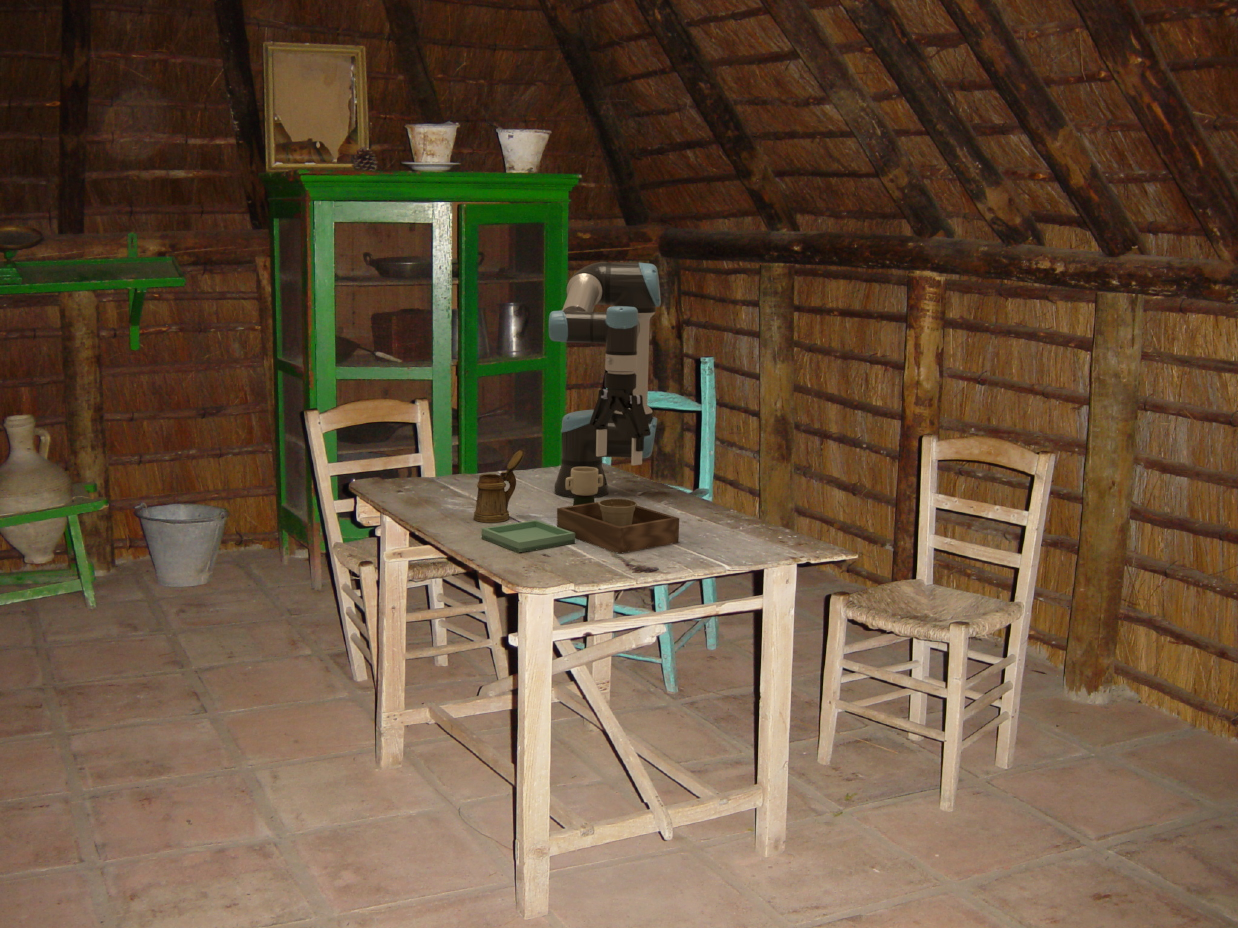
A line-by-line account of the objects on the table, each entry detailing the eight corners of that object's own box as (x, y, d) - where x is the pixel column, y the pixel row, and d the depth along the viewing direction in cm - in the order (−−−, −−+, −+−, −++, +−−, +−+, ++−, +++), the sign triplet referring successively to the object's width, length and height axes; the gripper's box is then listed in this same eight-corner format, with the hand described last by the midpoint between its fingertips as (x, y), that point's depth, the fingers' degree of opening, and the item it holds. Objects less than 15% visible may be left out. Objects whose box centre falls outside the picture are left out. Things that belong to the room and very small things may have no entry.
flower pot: (608, 543, 288) (609, 508, 287) (591, 534, 297) (591, 500, 295) (643, 539, 293) (644, 505, 291) (625, 531, 301) (625, 497, 299)
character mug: (595, 513, 319) (596, 464, 316) (608, 519, 313) (609, 469, 310) (558, 517, 313) (559, 468, 311) (571, 523, 307) (572, 473, 305)
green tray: (536, 529, 300) (536, 519, 300) (574, 543, 288) (575, 532, 287) (481, 538, 290) (481, 528, 290) (519, 553, 278) (519, 542, 278)
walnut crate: (615, 522, 310) (615, 499, 308) (678, 542, 291) (679, 518, 290) (556, 531, 298) (557, 508, 297) (618, 553, 280) (619, 528, 278)
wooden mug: (530, 520, 309) (530, 451, 306) (478, 523, 304) (479, 453, 301) (519, 512, 318) (520, 445, 314) (469, 516, 312) (469, 447, 309)
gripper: (576, 367, 294) (575, 453, 298) (642, 378, 275) (639, 470, 279) (600, 366, 299) (599, 450, 303) (667, 376, 280) (664, 466, 284)
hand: (618, 460), depth 291 cm, fingers open, 13 cm apart
